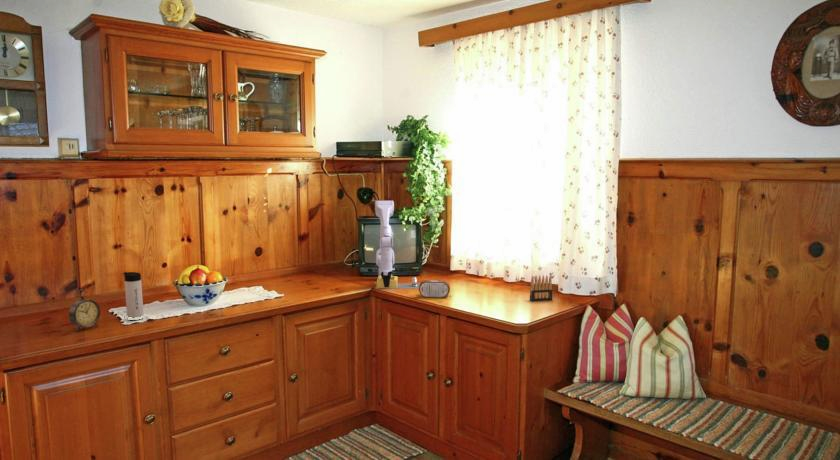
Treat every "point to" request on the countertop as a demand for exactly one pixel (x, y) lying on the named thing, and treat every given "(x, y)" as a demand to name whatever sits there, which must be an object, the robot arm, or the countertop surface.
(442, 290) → the tin
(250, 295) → the countertop surface
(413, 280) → the metal drawer knob
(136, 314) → the travel mug
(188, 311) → the countertop surface
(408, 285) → the keeper board
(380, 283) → the link
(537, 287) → the ammunition clip
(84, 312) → the alarm clock
